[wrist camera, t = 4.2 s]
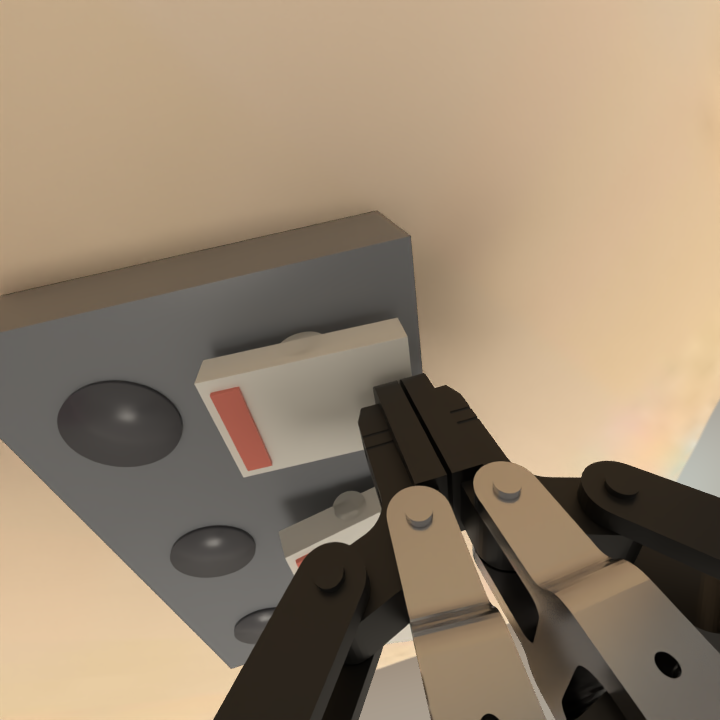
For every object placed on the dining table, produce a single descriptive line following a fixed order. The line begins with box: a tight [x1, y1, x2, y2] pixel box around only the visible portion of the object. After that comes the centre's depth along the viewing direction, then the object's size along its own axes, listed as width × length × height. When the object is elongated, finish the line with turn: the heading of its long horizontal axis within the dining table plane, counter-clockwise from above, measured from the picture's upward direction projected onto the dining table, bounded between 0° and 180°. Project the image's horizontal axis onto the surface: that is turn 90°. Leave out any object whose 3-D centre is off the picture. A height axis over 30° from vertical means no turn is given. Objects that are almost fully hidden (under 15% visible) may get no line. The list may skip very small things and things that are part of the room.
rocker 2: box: [279, 487, 381, 575], centre depth 16 cm, size 6×4×2 cm, turn 100°
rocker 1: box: [194, 318, 412, 478], centre depth 12 cm, size 6×4×2 cm, turn 99°
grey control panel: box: [0, 211, 422, 669], centre depth 19 cm, size 14×24×4 cm, turn 10°
